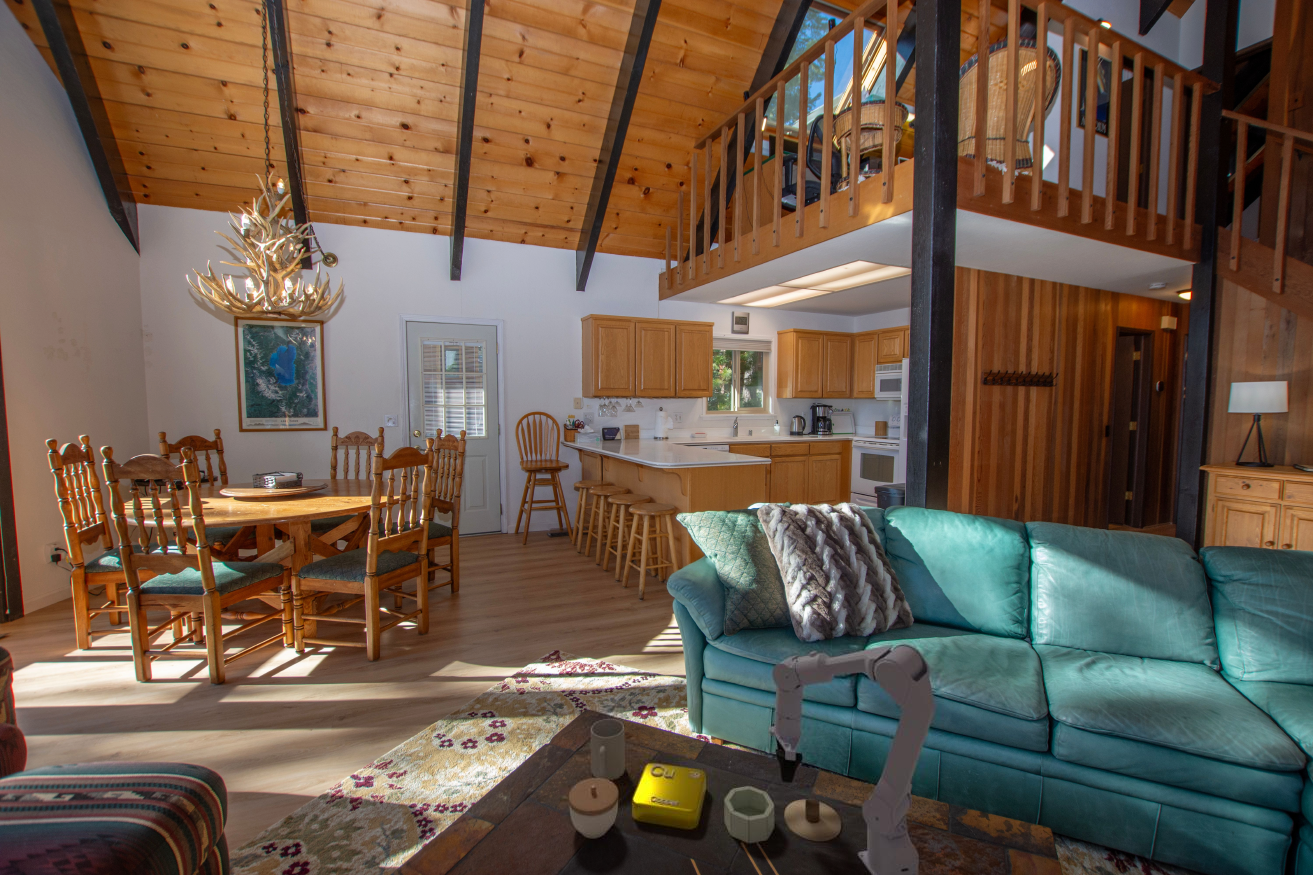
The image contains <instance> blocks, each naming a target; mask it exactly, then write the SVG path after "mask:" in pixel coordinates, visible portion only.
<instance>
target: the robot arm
mask: <svg viewBox="0 0 1313 875" xmlns="http://www.w3.org/2000/svg"><path fill="white" fill-rule="evenodd" d="M893 647H894V648H893ZM892 648H893V649H892ZM891 649H892V650H891ZM858 673H865V674H866V676H867V677H868V678H869V680H871V681H872V682H873V683H874V682H875V681H876V682H877V684H878V685H879V686H880V687H881V688H882V689H883V690H884V691H885V692H886V693H887V695H889V697H890V698H891V699H892V700H893V701H894V702H895V703H896V704H897V705H898V706H899V707H900V708H901V709H902V712H901V715H900V718H899V721H898V724H897V727H896V730H895V733H894V736H893V739H892V743H891V746H890V750H889V752H888V755H887V758H886V761H885V764H884V766H883V770H882V773H881V776H880V778H879V780H878V782H877V784H876V786H875V788H874V789H873V791H872V794H871V796H869V798H868V799H867V800H865V801H864V803H863V805H862V807H861V813H862V816H863V820H864V822H865V824H866V826H867V832H866V834H867V835H866V836H867V837H866V838H867V840H866V841H867V842H866V843H867V844H866V845H867V850H863V851H859V852H857V856H858V857H859V859H860V861H862V863H863V864H864V866H865V868H867V870H868V872H869V873H870V874H871V875H919V866H920V865H919V864H920V862H919V859H920V858H919V852H918V850H917V849H916V847H915V846H914V844H913V843H912V841H911V839H910V835H909V832H908V823H907V815H906V814H907V813H908V812H909V810H911V808H912V805H913V798H912V795H911V792H912V788H913V784H912V782H911V781H912V778H913V777H914V773H915V770H916V767H917V764H918V762H919V759H920V756H921V754H922V749H923V747H924V744H925V741H926V738H927V735H928V732H929V729H930V726H931V723H932V722H933V717H934V715H935V712H936V701H935V697H934V694H933V688H932V685H931V680H930V664H928V662H927V661H926V659H925V657H924V656H923V654H922V653H921V651H919V649H917V648H916V647H915V646H913V645H910V644H907V643H901V644H898V645H896V646H894V645H893V644H892V645H884V646H879V647H873V648H868V649H865V650H861V651H860V650H859V651H855V652H852V653H848V654H843V655H839V656H833V657H830V656H829V655H828V654H826V653H825V652H821V653H819V652H818V651H817V650H814V651H811V652H810V653H809V654H808V655H804V656H803V655H802V656H799V655H793V656H789V657H787V658H785V659H784V660H782V661H780V662H779V663H778V664H776V665H775V666H774V667H773V669H772V672H771V675H772V679H773V682H774V684H775V685H776V692H775V693H776V694H775V708H774V709H775V710H774V711H775V712H774V723H773V724H772V725H771V726H769V727H768V733H769V735H773V736H774V737H775V741H776V748H775V750H774V751H775V756H776V759H777V761H778V763H779V769H780V770H779V771H780V776H781V781H782V783H789V784H792V783H793V780H794V779H795V774H796V771H797V768H798V767H799V765H800V764H801V763H803V758H804V757H803V753H801V752H796V751H797V749H798V746H799V743H800V741H801V738H802V717H803V716H802V714H803V713H802V711H803V696H804V695H803V694H804V686H809V685H818V684H824V683H830V682H832V681H833V679H834V678H835V676H837V675H847V674H849V675H850V674H858Z"/></svg>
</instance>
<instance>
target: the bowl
mask: <svg viewBox="0 0 1313 875" xmlns="http://www.w3.org/2000/svg"><path fill="white" fill-rule="evenodd" d="M723 800H724V801H723V803H724V809H723V812H724V813H723V814H724V816H723V817H724V818H723V819H724V820H723V821H724V824H725V826H726V828H727V831H728V832H729V836H731V837H733V838H735V839H738V840H740V841H743V842H745V843H747V844H753V843H758V842H763V841H767V840H769V837H771V835H772V833H773V830H774V829H775V804H774V802H773V800H772V799H771V797H770V796H769V794H768V792H766V791H765V790H761V789H758V788H756V787H753V786H751V785H746V786H742V787H736V788H735V787H734V788H732V789H731V790H729V792H728V794H727V795H726V796H725V797H724V799H723Z"/></svg>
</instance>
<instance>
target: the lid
mask: <svg viewBox="0 0 1313 875" xmlns="http://www.w3.org/2000/svg"><path fill="white" fill-rule="evenodd" d="M783 818H784V821H785V823H786V826H787V827H788V828H789V829H790V830H791V831H792V832H793V833H794V834H796V835H797V836H799V837H801V838H803V839H805V840H809V841H814V842H827V841H830V840H832V839H835V838H836V837H837V836H838V835H839V834H840V832H841V829H842V821H841V818H840V815H839V814H838V813H837V812H836V810H834V808H832V807H831V806H829V805H828V804H826V803H824V802H822V801H818V800H817V799H816V798H813V797H812V798H810V797H809V798H806V799H804V798H803V799H799V800H798V799H797V800H795V801H793V802H791V803H789V804H788V805H787V806H786V808H785V810H784V817H783Z"/></svg>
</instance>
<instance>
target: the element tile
mask: <svg viewBox="0 0 1313 875" xmlns="http://www.w3.org/2000/svg"><path fill="white" fill-rule="evenodd" d="M706 778H707V776H706V772H705V771H704V770H701V769H698V768H693V767H691V768H690V767H685V766H678V765H670V764H664V763H656V762H649V763H647V764H646V765H645V766H644V768H643V771H642V773H641V775H640V778H639V780H638V783H637V786H636V788H635V790H634V793H633V795H632V798H631V810H632V811H631V815H632V818H633V819H634V820H635V821H637V822H643V823H648V824H654V825H660V826H666V827H672V828H679V829H684V830H693V829H695V828H697V827H698V826H699V823H700V818H701V814H702V809H703V804H704V802H705V796H706V792H707V779H706Z"/></svg>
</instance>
